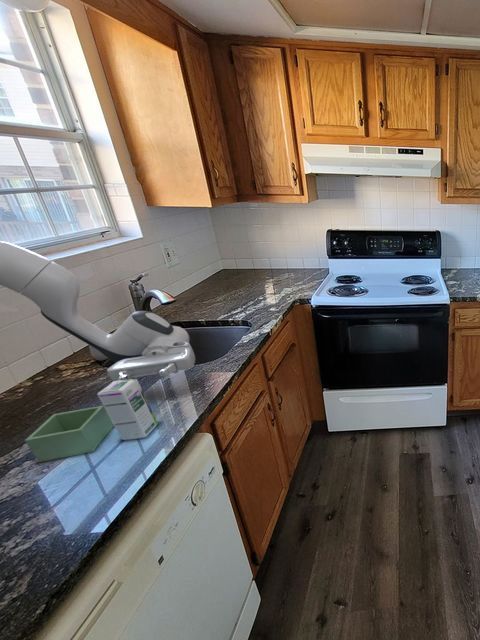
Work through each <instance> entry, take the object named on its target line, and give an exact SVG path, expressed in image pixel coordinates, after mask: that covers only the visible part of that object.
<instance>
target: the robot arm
mask: <svg viewBox="0 0 480 640" xmlns="http://www.w3.org/2000/svg"><path fill="white" fill-rule="evenodd" d="M0 286H2V287H5V288H7V289H9V290H11V291H13V292H15V293H17V294H20V295H21V296H24V297H26V299H28V300H30V301H31V302H33V303H34V304H35V305H36V306H37V307H38V308H39V309H40V315H42V317H44V318H45V319H46V320H47V321H49V322H50V323H52V324H53V325H54V326H57V328H60V329H61V330H63V331H64V332H67V333H68V334H69V335H71V336H73V337H75V338H77V339H78V340H80V341H81V342H84V343H85V344H87V345H88V346H89V345H90V346H92V347H94V348H95V349H97V350H98V351H100V352H101V353H102V354H103V355H105V356H106V357H107V358H108V359H109V360H110V361H112V362H115V363H113V364H112V365H111V366H109V367H108V368H107V369H106V373H107V375H108V377H109V379H110V380H112V382H113V381H118V380H125V379H136V378H140V377H146V376H152V375H158V374H159V377H160V378H165V377H168V376H169V374H172V373H174V372H177V371H178V372H179V371H183V370H190V369H191V368H193V367H194V366H195V364H196V356H195V355H196V354H195V352H194V349H193V348H192V345H191V344H190V335H189V333H188V331H187V330H186V329H185V328H182V327H181V326H177V325H172V324H171V322H170V321H169V320H168V319H166V318H165V317H164V316H163V315H160V314H158V313H157V312H153V311H149V310H148V311H147V310H136V311H134V312H132V313H131V314H130V315H129V316H128V317H127V318H125V320H124V321H123V322H122V323H121V325H119V326H118V328H116V329H115V330H114V332H112V333H108V332H106V331H105V330H103V329H101V328H99V326H98V327H96V326H95V325H96V324H93V323H92V322H90V321H88V320H86V319H85V318H84V317H82V316H81V314H80V313H79V311H78V301H79V297H80V291H81V288H80V282H79V280H78V278H77V277H76V275H75V274H74V273H73V272H72V271H70V270H69V269H67V268H66V267H64V266H62V265H61V264H58V263H56V262H55V261H52V260H51V259H48V258H47V257H45V256H43V255H40V254H39V253H36V252H34V251H32V250H29V249H26V248H24V247H22V246H19V245H16V244H13V243H10V242H7V241H3V240H0Z"/></svg>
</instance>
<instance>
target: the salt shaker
mask: <svg viewBox="0 0 480 640" xmlns="http://www.w3.org/2000/svg"><path fill="white" fill-rule="evenodd" d="M94 325H95V326H96V327H98V328H99V326H98V325H97V324H94ZM88 348H89V353H90V356H91V357H92V358H93V359H95V360H97V361H104V360H108V359H109V358H107V357H106V356H105V355H103V354H102V353H101V352H100V351H98V350H97V349H95V348H94V347H92V346H90V345H89V344H88Z"/></svg>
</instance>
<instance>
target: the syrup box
mask: <svg viewBox="0 0 480 640" xmlns="http://www.w3.org/2000/svg"><path fill="white" fill-rule="evenodd" d="M96 394H97V396H98V398H99V400H100V403H101V404H102V406H104V408H105V409H106V411H107V413H108V415H109V417H110V419H111V421H112V422H113V424H114V426H113V427H114V428H115V430H116V431H117V433H118V435H119V437H120V438H121V440H123V441H128V440H129V441H130V440H136V439H137V440H138V439H144V438H147V437H148V435H149V434H150V433H151V432H153V430H154V429H155V428H156V427H157V426H158V425H159V422H158V420H157V418H156V415H155V413H154V412H153V410H152V408H151V405H150V403H149V401H148V399H147V397H146V395H145V393H144V391H143V388H142V387H141V385H140V383H139V379H137V378H129V379H125V380H117V381H113V380H112V381H111V383H109V384H108V385H107V386H106V387H104V388H103V389H102V390H100V391H99V392H97V393H96Z"/></svg>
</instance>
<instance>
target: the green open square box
mask: <svg viewBox="0 0 480 640" xmlns="http://www.w3.org/2000/svg"><path fill="white" fill-rule="evenodd" d="M114 427H115V426H114V424H113V422H112V420H111V419H110V417H109V415H108V413H107V411H106V409H105V408H104V406H103V405H98V406H94V407H93V406H92V407H87V408H82V409H76V410H70V411H65V412H64V411H63V412H59V413H58V412H57V413H53V414H52V415H51V416H50V417H48V418H47V420H46V421H44V422H43V423H42V424H41V425H40V426H39V427H38V428H37V429H35V430H34V431H33V432H32V433H31V434H30V435H29V436H28V437H27V438H25V439H24V442H25V443H26V446H28V448H29V450H30V451H31V452H32V454H33V455H34V457H35V459H36V460H37V462H38V463H42V462H47V461H52V460H57V459H63V458H67V457H72V456H78V455H82V454H87V453H92V452H94V451H95V450H96V449H97V448H98V446H99V445H100V444H101V443H102V441H104V439H105V438H106V437H107V435H108V434H109V433H110V432H111V430H112V429H113V428H114Z"/></svg>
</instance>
